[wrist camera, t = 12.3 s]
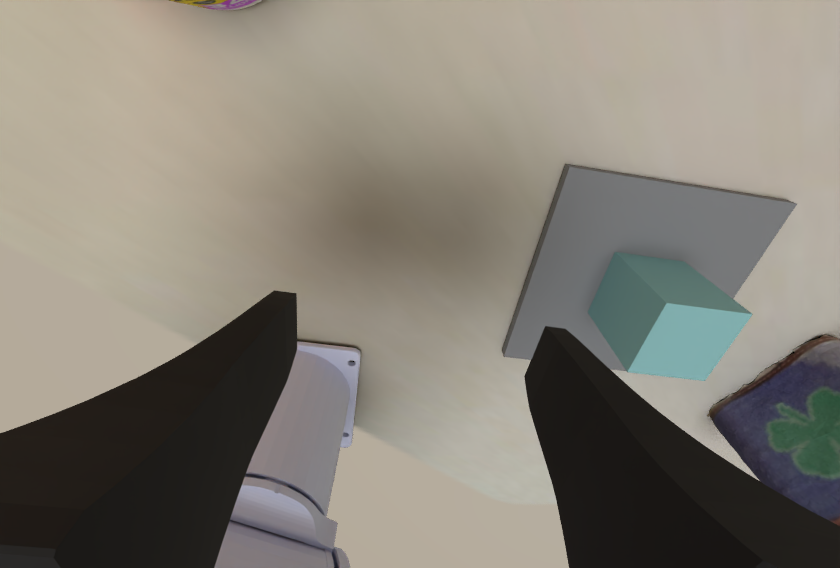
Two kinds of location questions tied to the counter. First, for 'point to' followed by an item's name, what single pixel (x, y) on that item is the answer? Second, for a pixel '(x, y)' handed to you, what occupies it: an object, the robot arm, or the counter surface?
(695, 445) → the robot arm
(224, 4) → the supplement bottle
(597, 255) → the mat
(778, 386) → the flask
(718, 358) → the teal block
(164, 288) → the counter surface
